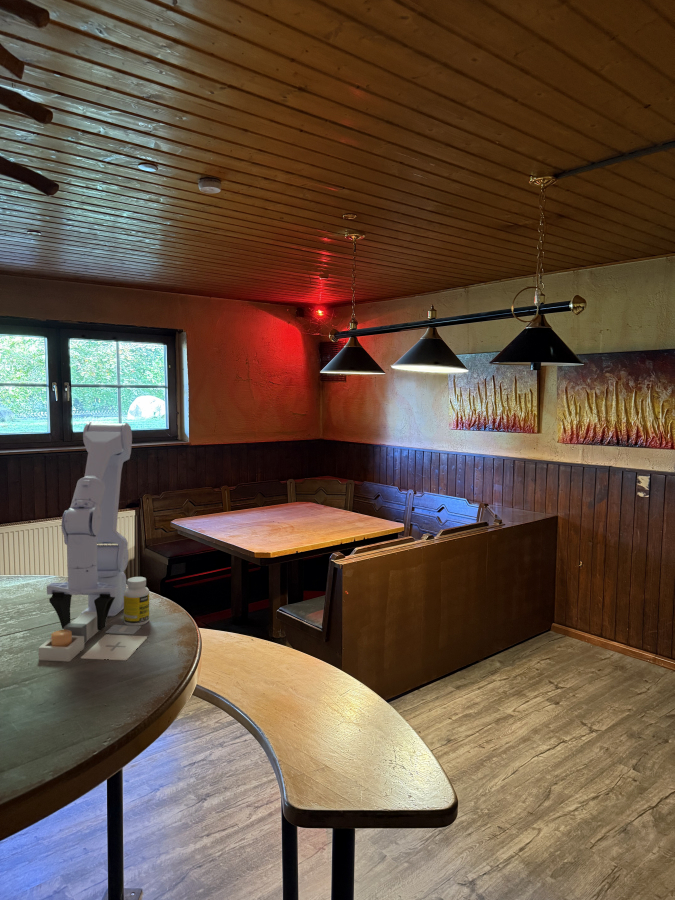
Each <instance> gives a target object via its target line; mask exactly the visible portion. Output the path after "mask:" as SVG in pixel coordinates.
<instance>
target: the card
mask: <svg viewBox="0 0 675 900" xmlns="http://www.w3.org/2000/svg"><path fill="white" fill-rule="evenodd" d="M139 629H141V625H138V626H130V625H126V624H122V625H121V624H113V625H111V627H110V628H108V629H107V630H106V631H105V634H106V633H109V634H108V635H128V636H134V634H136V633H137V632H138V630H139Z"/></svg>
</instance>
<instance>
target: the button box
mask: <svg viewBox="0 0 675 900" xmlns="http://www.w3.org/2000/svg"><path fill="white" fill-rule="evenodd" d="M84 649H85V643H84V636H72V643H71V644H70V645H69V646H68V647H58V646H52V640H51V637H50V638H49V639H47V640H46V641H45V642H44V643H42V644H41V645H39V646H38V651H37V652H38V661H49V662H50V661H51V662H71V661H72V660H73V659H74V658H76V657H77V655H78V654H79V653H81V652H82V651H83V650H84ZM80 651H81V652H80Z"/></svg>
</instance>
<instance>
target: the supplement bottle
mask: <svg viewBox="0 0 675 900" xmlns="http://www.w3.org/2000/svg"><path fill="white" fill-rule="evenodd" d="M149 621H150V589H149V588H148V587H147V578H146V577H143V576H134V577H129V578H128V579H126V590H125V591H124V608H123V623H124V625H128V626H143V625H145V624H147V623H148V622H149Z"/></svg>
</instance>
